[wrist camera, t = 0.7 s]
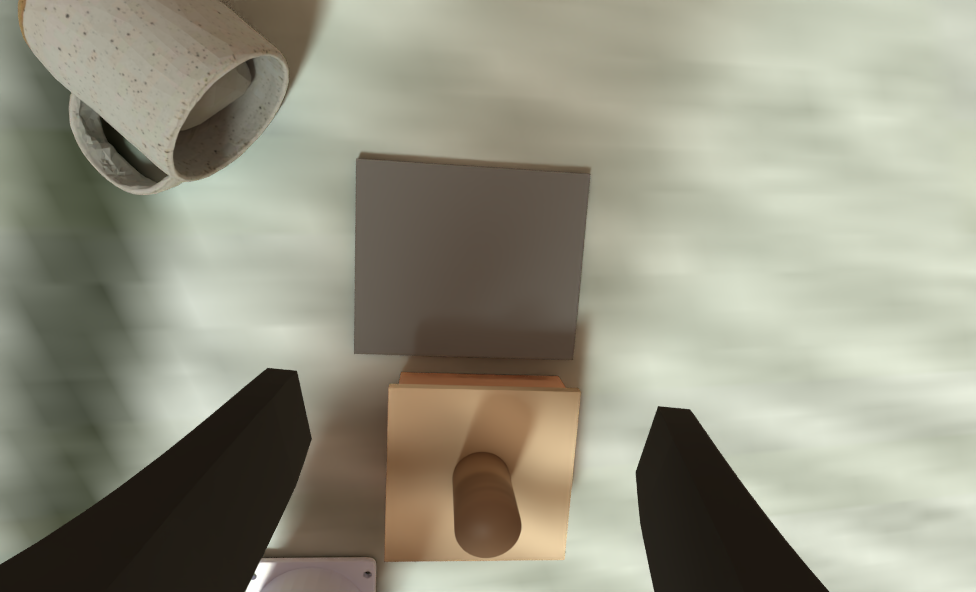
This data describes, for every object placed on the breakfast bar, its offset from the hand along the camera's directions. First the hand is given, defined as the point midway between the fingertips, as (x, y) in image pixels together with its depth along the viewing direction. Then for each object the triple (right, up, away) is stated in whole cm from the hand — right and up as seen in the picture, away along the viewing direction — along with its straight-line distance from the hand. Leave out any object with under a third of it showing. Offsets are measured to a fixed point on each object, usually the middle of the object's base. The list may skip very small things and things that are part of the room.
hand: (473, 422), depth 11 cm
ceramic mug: (-15, +13, +17) cm, 26 cm away
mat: (-1, +4, +19) cm, 20 cm away
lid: (0, -7, +19) cm, 20 cm away
